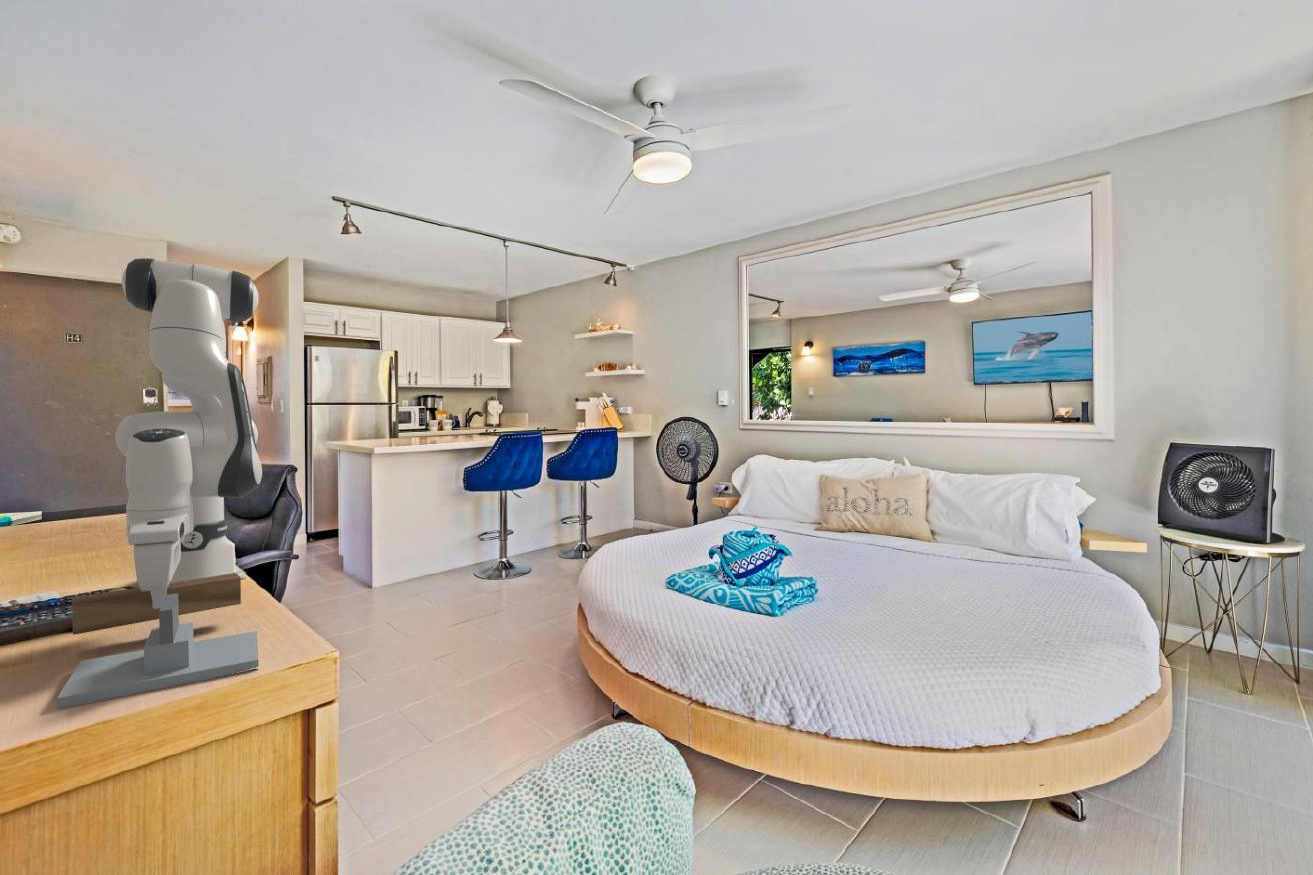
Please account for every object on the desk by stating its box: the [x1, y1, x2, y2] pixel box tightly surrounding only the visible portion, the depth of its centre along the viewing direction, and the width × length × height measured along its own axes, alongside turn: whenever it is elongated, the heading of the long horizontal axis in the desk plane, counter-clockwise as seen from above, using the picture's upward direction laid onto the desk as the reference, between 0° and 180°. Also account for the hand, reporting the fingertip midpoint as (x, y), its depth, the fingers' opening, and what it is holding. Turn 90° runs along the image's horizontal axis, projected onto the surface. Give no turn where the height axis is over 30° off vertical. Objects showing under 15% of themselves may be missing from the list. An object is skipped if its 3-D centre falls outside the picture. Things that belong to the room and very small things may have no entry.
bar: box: [71, 573, 242, 636], centre depth 102 cm, size 4×22×5 cm, turn 136°
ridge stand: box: [56, 593, 260, 710], centre depth 89 cm, size 14×22×10 cm, turn 125°
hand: (162, 602), depth 102 cm, fingers closed on bar, 4 cm apart
